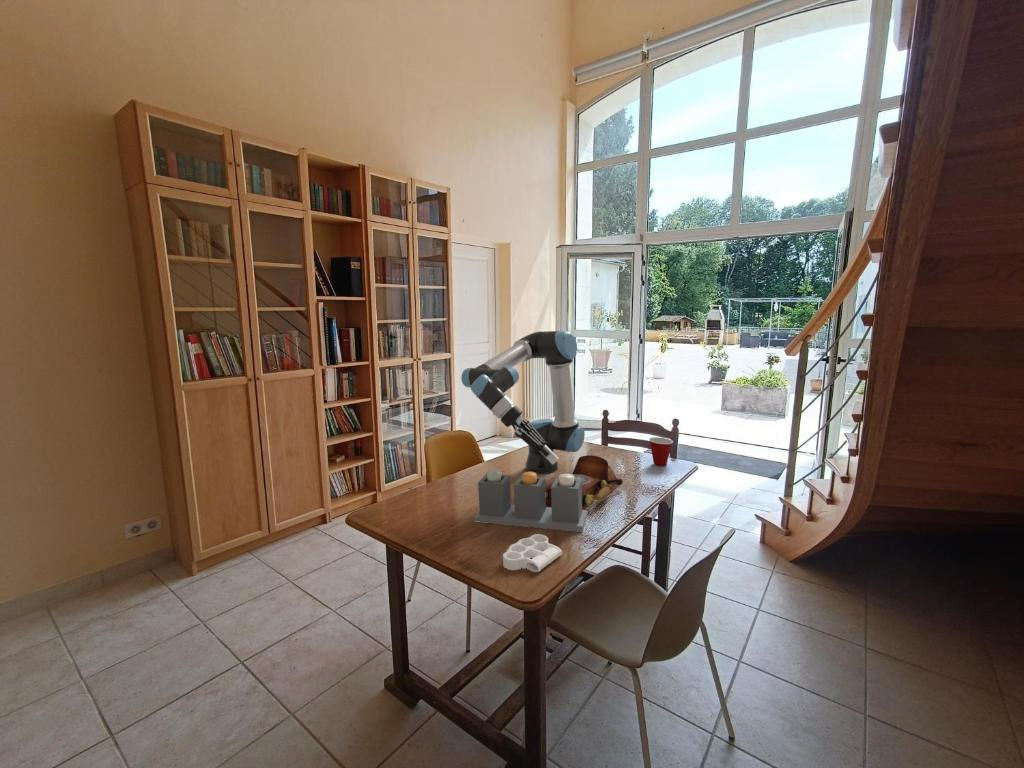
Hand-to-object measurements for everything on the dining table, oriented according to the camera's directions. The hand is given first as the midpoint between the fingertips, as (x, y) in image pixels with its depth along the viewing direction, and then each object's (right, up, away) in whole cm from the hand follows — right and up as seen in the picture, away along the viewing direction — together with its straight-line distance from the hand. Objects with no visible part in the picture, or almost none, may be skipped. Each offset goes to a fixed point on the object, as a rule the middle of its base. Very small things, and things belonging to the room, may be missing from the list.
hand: (555, 461), depth 155 cm
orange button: (-9, -9, +5) cm, 13 cm away
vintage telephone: (+14, -18, +29) cm, 37 cm away
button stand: (-8, -21, +7) cm, 24 cm away
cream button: (+4, -9, +1) cm, 10 cm away
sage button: (-21, -9, +8) cm, 24 cm away
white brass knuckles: (-9, -26, -19) cm, 33 cm away
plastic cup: (+55, -12, +60) cm, 82 cm away
